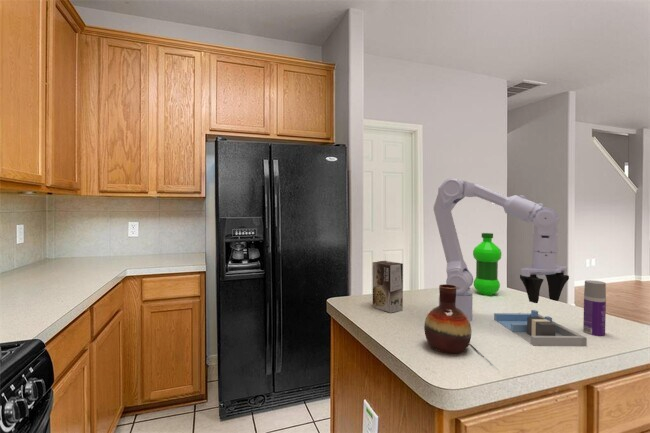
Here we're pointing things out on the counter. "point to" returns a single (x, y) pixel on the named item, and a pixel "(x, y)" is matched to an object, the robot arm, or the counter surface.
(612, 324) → the counter surface
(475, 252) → the plastic bottle
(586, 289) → the container
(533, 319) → the dark striped block
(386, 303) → the coffee box
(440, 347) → the vase
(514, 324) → the board
